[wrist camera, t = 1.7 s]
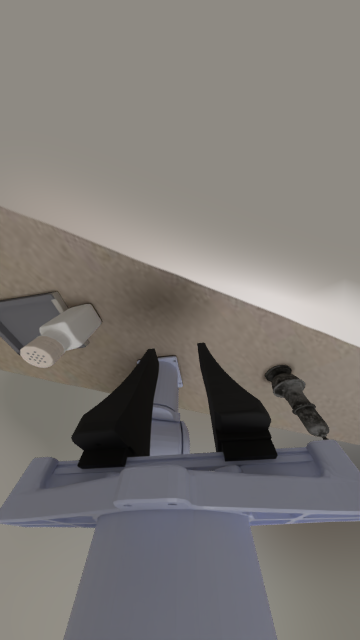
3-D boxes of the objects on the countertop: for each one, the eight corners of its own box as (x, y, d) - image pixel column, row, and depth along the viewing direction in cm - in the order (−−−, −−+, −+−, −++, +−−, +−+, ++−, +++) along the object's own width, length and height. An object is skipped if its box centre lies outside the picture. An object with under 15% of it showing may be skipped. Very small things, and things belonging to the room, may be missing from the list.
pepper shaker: (83, 327, 24) (34, 373, 16) (69, 307, 22) (5, 347, 14) (104, 322, 24) (65, 367, 16) (91, 301, 22) (39, 339, 14)
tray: (89, 342, 26) (85, 347, 25) (25, 350, 27) (19, 355, 26) (57, 291, 21) (51, 294, 20) (-20, 303, 22) (-30, 307, 21)
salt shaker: (297, 373, 31) (357, 443, 20) (271, 385, 33) (314, 454, 22) (285, 359, 28) (345, 429, 18) (258, 373, 31) (299, 443, 20)
